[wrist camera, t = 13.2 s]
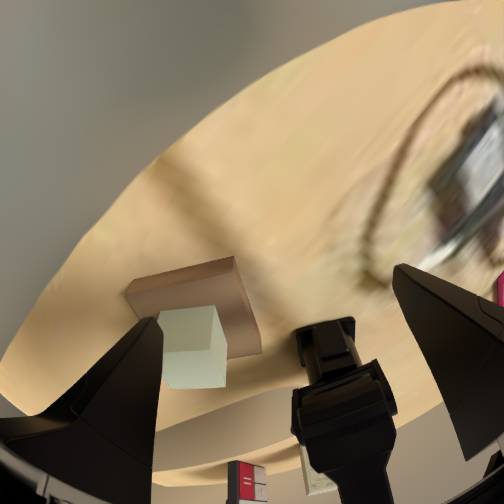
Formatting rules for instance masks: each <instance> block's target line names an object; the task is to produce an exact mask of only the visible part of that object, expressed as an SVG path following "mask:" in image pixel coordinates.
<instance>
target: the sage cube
mask: <svg viewBox="0 0 504 504" xmlns="http://www.w3.org/2000/svg"><path fill="white" fill-rule="evenodd" d="M157 322H158V324H159V326H160V327H161V329H162V331H163V334H164V345H163V368H162V378H163V380H164V381H165V382H166V384H167V385H168V387H169V388H170V389H201V388H220V387H226V364H227V342H226V339H225V336H224V333H223V329H222V326H221V323H220V320H219V317H218V314H217V311H216V307H215V305H211V306H203V307H194V308H185V309H176V310H166V311H160V314H159V317H158V320H157Z"/></svg>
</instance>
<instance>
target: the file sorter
mask: <svg viewBox="0 0 504 504" xmlns="http://www.w3.org/2000/svg"><path fill="white" fill-rule="evenodd" d="M498 300H499V305H500V306H503V307H504V272H503V274H502V275H501V276H500V277H499V278H498Z"/></svg>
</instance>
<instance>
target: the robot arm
mask: <svg viewBox="0 0 504 504" xmlns="http://www.w3.org/2000/svg"><path fill="white" fill-rule="evenodd" d="M392 287H393V290H394V293H395V295H396V297H397V300H398V302H399V305H400V307H401V309H402V312H403V314H404V317H405V319H406V322H407V324H408V326H409V328H410V330H411V331H412V333H413V335H414V337H415V339H416V341H417V343H418V345H419V347H420V349H421V351H422V353H423V355H424V357H425V359H426V361H427V364H428V366H429V368H430V370H431V372H432V374H433V377H434V379H435V381H436V383H437V386H438V388H439V390H440V393H441V395H442V397H443V400H444V402H445V405H446V407H447V410H448V412H449V414H450V418H451V420H452V423H453V426H454V428H455V431H456V434H457V437H458V440H459V443H460V446H461V449H462V452H463V455H464V458H465V461H468V460H470V459H472V458H473V457H475V456H476V455H478V454H479V453H481V452H482V451H484V450H485V449H487V448H488V447H490V446H491V445H492V444H494V443H495V442H498V444H499V447H500V450H499V451H497V452H496V453H495V454H493V455H492V456H491V458H490V461H489V464H488V466H487V469H486V472H485V474H484V476H483V479H482V480H481V481H479V482H478V483H476V484H474V485H473V486H471V487H470V488H468V489H467V490H465V491H463V492H462V493H460V494H458V495H457V496H455V497H453V498H451V499H450V500H448V501H446V502H444V503H442V504H504V307H503V306H500V305H498V304H495V303H493V302H491V301H489V300H487V299H484V298H482V297H480V296H477V295H476V294H474V293H472V292H469V291H467V290H465V289H463V288H461V287H458V286H456V285H454V284H452V283H449V282H447V281H445V280H443V279H440V278H438V277H436V276H434V275H431V274H429V273H427V272H424V271H422V270H419V269H417V268H415V267H412V266H410V265H408V264H405V263H402V264H399V265H395V266H394V269H393V281H392ZM295 333H296V339H297V345H298V350H299V356H300V362H301V366H302V367H306V370H307V375H308V380H309V386H306V387H303V388H300V389H298V388H297V389H294V390H293V396H292V425H291V433H292V434H293V435H295V436H296V437H297V439H298V441H299V443H300V445H301V446H303V447H304V446H305V447H306V451H307V454H308V458H309V463H310V466H311V467H312V468H313V469H314V470H315V471H316V472H317V473H318V474H321V473H323V474H324V475H325V476H326V477H328V478H329V479H330V480H331V481H333V482H334V483H335V484H336V485H337V487H338V491H339V495H340V499H341V503H342V504H394V500H393V496H392V492H391V488H390V484H389V480H388V476H387V472H386V466H387V464H388V461H389V458H390V455H391V452H392V450H393V447H394V443H395V439H396V429H395V426H394V422H393V419H392V416H394V415H396V414H398V411H397V406H396V402H395V399H394V396H393V393H392V390H391V387H390V385H389V383H388V381H387V379H386V377H385V375H384V373H383V371H382V369H381V367H380V365H379V363H378V361H377V359H374V360H372V361H371V362H369V363H367V364H365V365H362V363H361V360H360V357H359V355H358V352H357V350H356V347H355V345H354V343H355V319H354V317H347V318H343V319H339V320H335V321H331V322H327V323H323V324H319V325H314V326H310V327H306V328H301V329H298V330H296V332H295ZM299 333H301V334H299ZM163 345H164V334H163V331H162V329H161V327H160V326H159V324H158V322H157V320H156V319H155V317H153V316H148V317H143V318H142V319H141V320H140V321H139V322H138V323H137V324H136V325H135V326H134V327H132V328H131V329H130V330H129V331H128V332H127V333H126V334H125V335H124V336H123V337H122V338H121V339H120V340H119V341H118V342H117V343H116V344H115V345H114V346H113V347H112V348H111V349H110V350H109V351H108V352H107V353H106V354H104V355H103V356H102V357H101V358H100V359H99V360H98V361H97V362H96V363H95V364H94V365H93V366H92V367H91V368H90V369H89V370H88V371H87V373H85V374H84V375H83V376H82V377H81V378H80V379H79V380H78V381H77V382H76V383H75V384H74V385H73V386H72V387H71V388H70V389H68V390H67V391H66V392H65V393H64V394H63V395H62V396H61V397H59V398H58V399H57V400H56V401H55V402H54V403H53V404H51V405H50V406H49V407H48V408H47V409H46V410H44V411H43V412H41V413H40V414H37V415H34V416H27V417H13V418H0V448H2V449H3V450H2V453H1V456H0V504H151V484H152V468H151V467H152V464H153V463H152V462H153V450H154V438H155V427H156V418H157V409H158V400H159V392H160V385H161V377H162V368H163Z"/></svg>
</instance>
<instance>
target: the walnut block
mask: <svg viewBox="0 0 504 504" xmlns="http://www.w3.org/2000/svg"><path fill="white" fill-rule="evenodd" d="M125 297H126V299H127V300H128V302H129V304H130V305H131V307H132V309H133V310H134V312H135V313H136V315H137V317H138V318H139V320H141V319H142V318H143V317H148V316H153V317H155V319H156V320H158V317H159V314H160V311H166V310H176V309H185V308H194V307H203V306H211V305H215V307H216V311H217V314H218V317H219V320H220V323H221V326H222V329H223V333H224V336H225V339H226V342H227V359H233V358H239V357H245V356H251V355H256V354H262V345H261V335H260V332H259V329H258V326H257V323H256V320H255V318H254V315H253V312H252V309H251V306H250V303H249V300H248V297H247V294H246V291H245V288H244V285H243V282H242V279H241V277H240V274H239V271H238V268H237V265H236V262H235V259H234V256H231V257H227V258H223V259H219V260H214V261H210V262H206V263H202V264H198V265H194V266H189V267H185V268H181V269H177V270H173V271H169V272H164V273H160V274H156V275H152V276H148V277H144V278H139V279H135V280H133V282H132V284H131V286H130V287H129V289H128V291H127V293H126V295H125Z"/></svg>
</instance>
